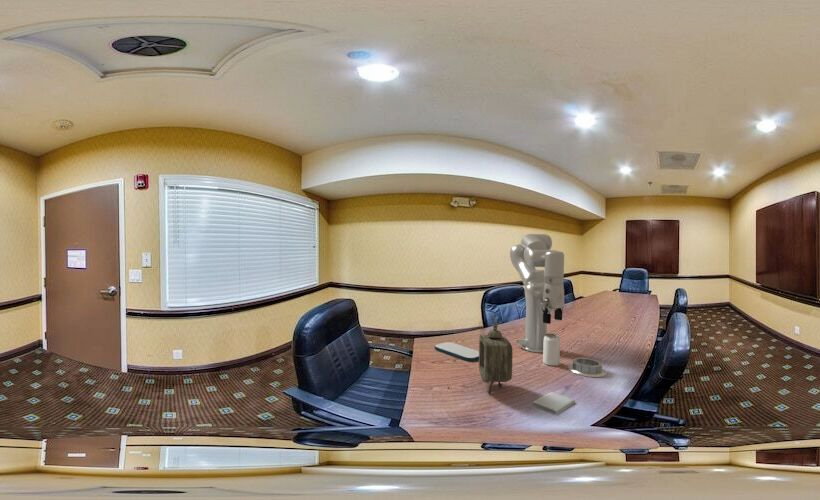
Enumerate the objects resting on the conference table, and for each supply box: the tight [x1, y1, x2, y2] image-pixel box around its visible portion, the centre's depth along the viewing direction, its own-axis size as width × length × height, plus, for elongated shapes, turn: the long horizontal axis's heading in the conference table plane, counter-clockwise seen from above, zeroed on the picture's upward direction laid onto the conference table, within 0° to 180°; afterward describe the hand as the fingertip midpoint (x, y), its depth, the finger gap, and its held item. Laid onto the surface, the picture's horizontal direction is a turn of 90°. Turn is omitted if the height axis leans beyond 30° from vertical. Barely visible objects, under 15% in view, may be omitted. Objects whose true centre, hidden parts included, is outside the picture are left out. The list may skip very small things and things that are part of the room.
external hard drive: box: [434, 341, 479, 362], centre depth 168 cm, size 24×12×2 cm, turn 40°
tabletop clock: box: [478, 316, 513, 394], centre depth 130 cm, size 14×9×25 cm, turn 178°
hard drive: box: [531, 391, 576, 415], centre depth 119 cm, size 2×8×12 cm
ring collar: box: [567, 357, 608, 379], centre depth 148 cm, size 14×14×4 cm
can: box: [542, 333, 561, 367], centre depth 156 cm, size 6×6×12 cm
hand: (552, 321), depth 155 cm, fingers open, 9 cm apart
